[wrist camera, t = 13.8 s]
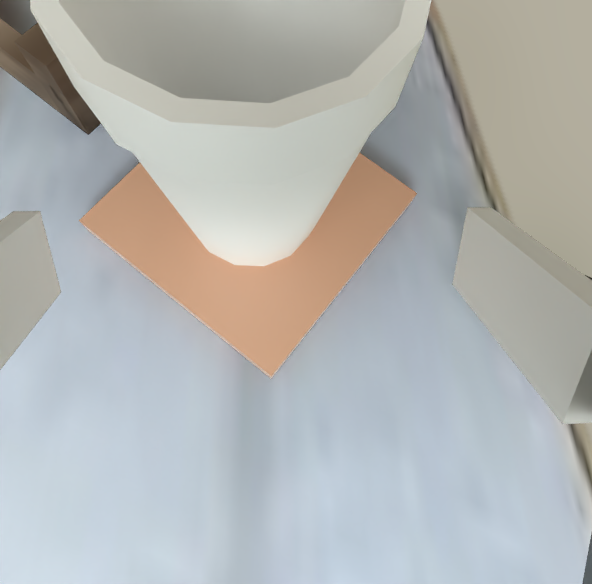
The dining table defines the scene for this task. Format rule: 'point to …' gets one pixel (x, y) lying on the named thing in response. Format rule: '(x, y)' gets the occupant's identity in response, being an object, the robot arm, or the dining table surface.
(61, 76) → the frame
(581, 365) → the robot arm
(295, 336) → the terracotta tile
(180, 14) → the foam cup
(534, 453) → the dining table surface
